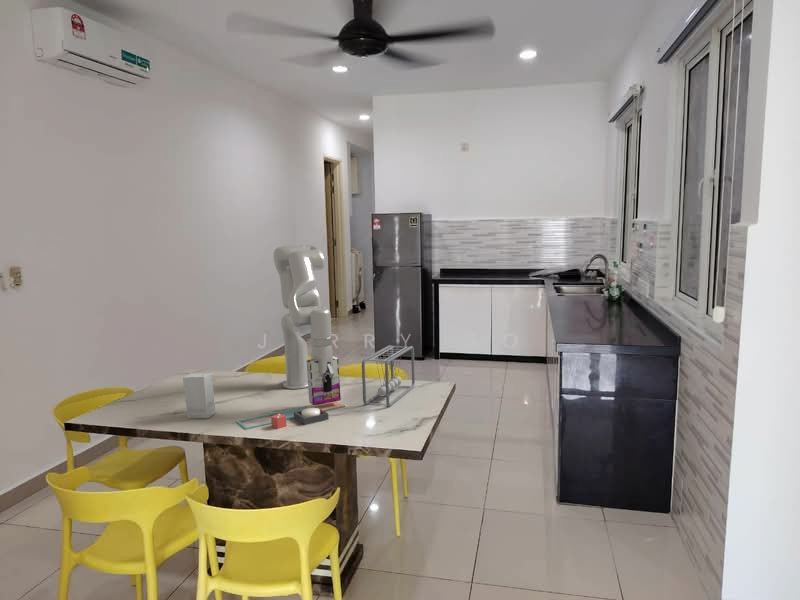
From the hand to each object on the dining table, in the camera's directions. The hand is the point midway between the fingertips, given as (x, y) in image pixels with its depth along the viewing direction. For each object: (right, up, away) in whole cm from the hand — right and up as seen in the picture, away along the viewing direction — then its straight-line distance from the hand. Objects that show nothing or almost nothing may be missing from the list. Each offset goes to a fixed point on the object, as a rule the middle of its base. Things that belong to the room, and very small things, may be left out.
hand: (324, 389), depth 210 cm
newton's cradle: (+25, -5, +13) cm, 28 cm away
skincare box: (-44, -9, -5) cm, 45 cm away
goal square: (0, -7, +1) cm, 7 cm away
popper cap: (-3, -8, -12) cm, 15 cm away
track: (-10, -8, -6) cm, 14 cm away
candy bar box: (0, -5, +1) cm, 5 cm away
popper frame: (-3, -8, -12) cm, 15 cm away
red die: (-13, -9, -19) cm, 25 cm away
